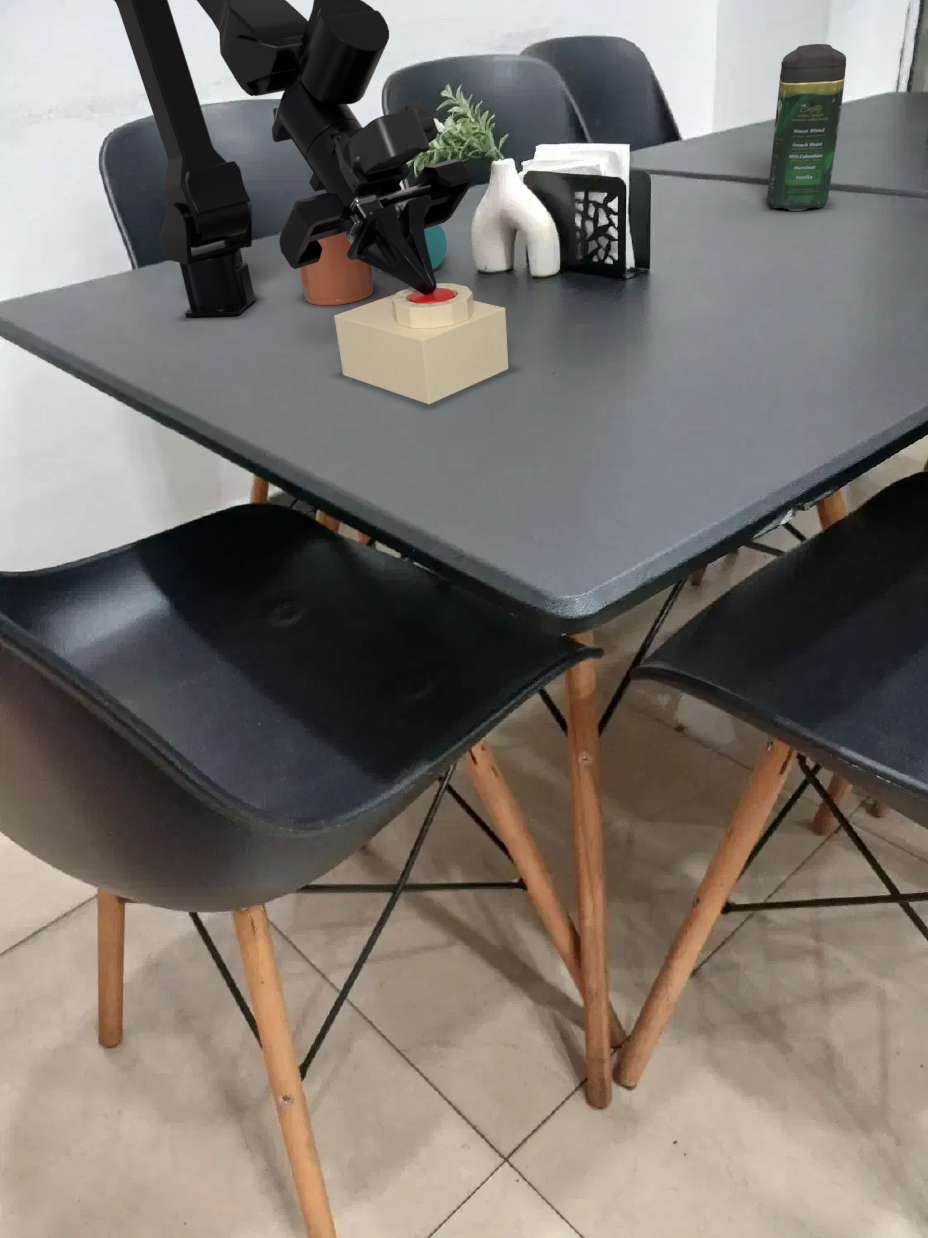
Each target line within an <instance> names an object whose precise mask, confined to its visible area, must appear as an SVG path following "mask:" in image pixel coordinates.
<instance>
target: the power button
mask: <svg viewBox="0 0 928 1238" xmlns="http://www.w3.org/2000/svg"><path fill="white" fill-rule="evenodd" d="M452 298H455V293H454V291H452V290H450V289H445V288H436V289H435V291H434V292H433V293H431V294H429V295H424V294H422V293H421V292H419V291H416V292H414V293H412V294H411V295H410V296H409V302H413V303H425V304H431V303H438V302H444V301H447V300H450V299H452Z"/></svg>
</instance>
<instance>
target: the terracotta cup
mask: <svg viewBox="0 0 928 1238" xmlns="http://www.w3.org/2000/svg"><path fill="white" fill-rule="evenodd" d="M318 242H319V243H320V245H321V246H322V248H323V249H322V253H321V257H320V260H319V262H317V263H313V264H310V265H307V266H304V267H301V268H298V269H299V274H300V282H301V287H302V292H303V297H304V300H305V301H306V303H309V304H312V305H316V306H339V305H347V304H351V303H352V304H353V303H357V302H359V301H362V300H364V299H366V298H369V297H370V296H371V295H372V294H373V293H374V281H373V272H372V266H371V265H369V264H367V263H365V262H363V261H361V260H358V259H354V260H350V259H349V258H348V257H347V252H348V250H349V248H350V247H351V243H350V242H349V240H348V237H347V236H346V234H345V233H342V234H338V235H335V236H331V237H328V238H323V239H320V240H318Z"/></svg>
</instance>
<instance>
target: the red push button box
mask: <svg viewBox="0 0 928 1238" xmlns="http://www.w3.org/2000/svg"><path fill="white" fill-rule="evenodd" d="M436 284H437V288H445V289H450V290H452V291H454V293H455V298H452V299H450V300H447V301H444V302H438V303H431V304H425V303H413V302H409V296H410V295H411V294H412V293H414V292H416V291H417V290H415V289H414V288H412V287H410V286H409V287H408V288H405V289H402V290H399V291H398V292H396V293H394V294H391V295H389V296H386V297H382V298H379V299H377V300H373V301H372V302H369V303H365V304H363V305H360V306H357V307H354V308H352V309H349V310H346V311H343V312H341V313H338V314H334V317H333V319H334V324H335V329H336V336H337V343H338V349H339V356H340V362H341V369H342V370H341V371H342V375H343V376H346V377H348V378H351V379H354V380H358V381H360V382H362V383H366V384H368V385H371V386H374V387H377V388H380V389H383V390H386V391H389V392H392V393H394V394H398V395H401V396H403V397H406V398H410V399H413V400H415V401H418V402H421V403H424V404H427V405H430V404H433V403H435V402H438V401H439V400H443V399H444V398H446V397H449V396H451V395H453V394H455V393H458V392H460V391H462V390H464V389H467V388H468V387H471V386H474V385H476V384H478V383H480V382H482V381H485V380H487V379H489V378H491V377H494V376H495V375H498V374H500V373H502V372H504V371H507V370H509V355H508V354H509V351H508V336H507V335H508V333H507V316H506V315H507V314H506V307H503V306H498V305H494V304H490V303H486V302H481V301H478V300H474V297H473V294H474V293H473V291H472V289H470V288H469V287H468V286H466V285H462V284H457V283H451V282H450V283H445V282H444V283H441V282H436Z"/></svg>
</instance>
